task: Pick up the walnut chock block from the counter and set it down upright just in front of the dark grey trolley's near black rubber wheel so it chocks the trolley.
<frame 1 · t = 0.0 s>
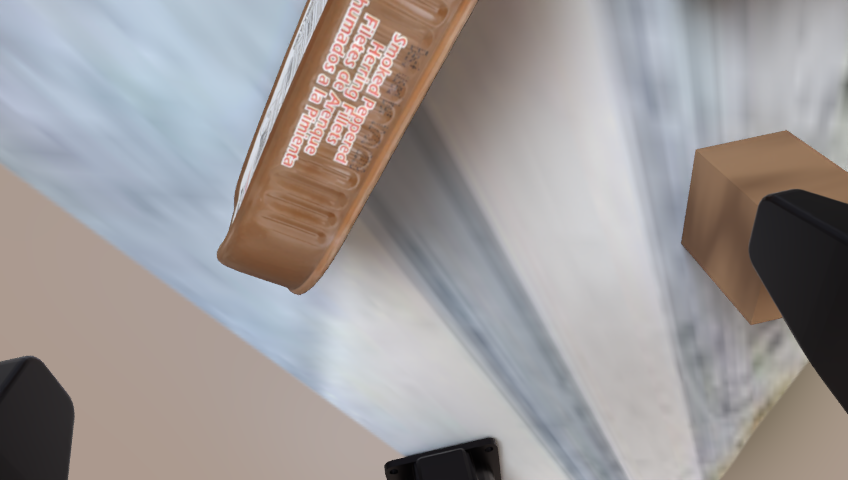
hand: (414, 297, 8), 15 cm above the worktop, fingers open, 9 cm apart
chock: (730, 189, 27), on the worktop
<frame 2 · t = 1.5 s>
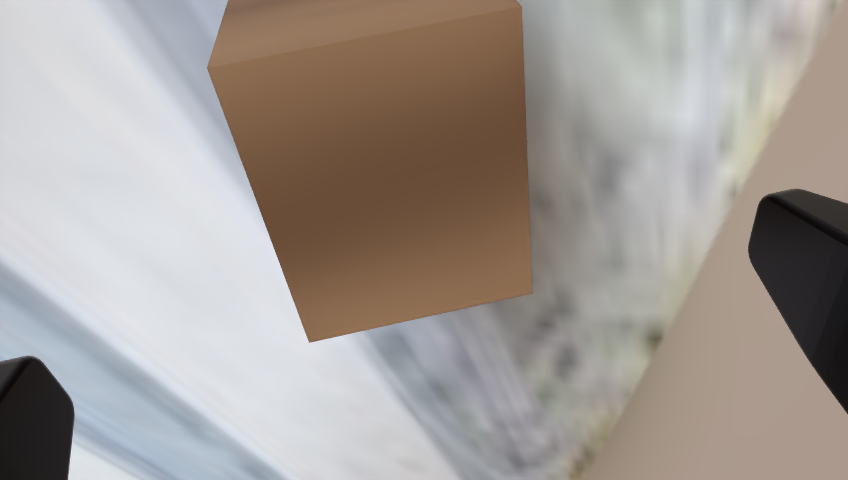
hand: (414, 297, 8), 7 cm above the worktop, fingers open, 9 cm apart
chock: (365, 67, 13), on the worktop
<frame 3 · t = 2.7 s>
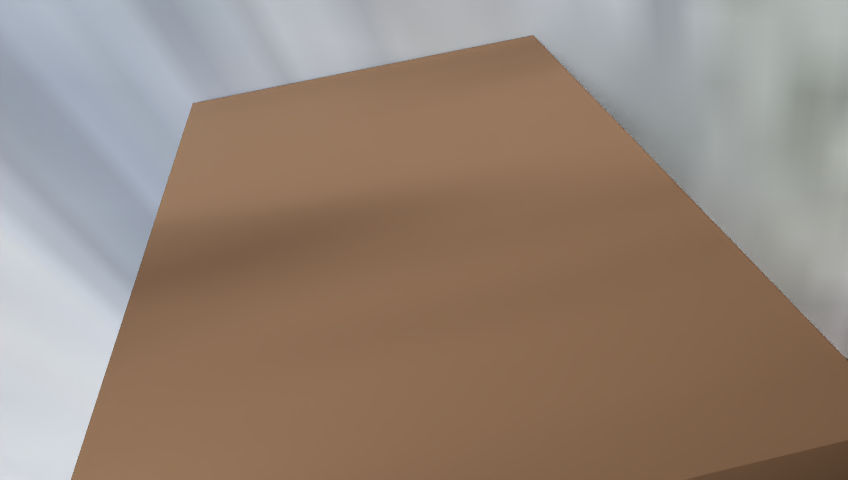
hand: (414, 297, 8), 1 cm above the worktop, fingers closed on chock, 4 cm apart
chock: (400, 238, 9), on the worktop, touching gripper
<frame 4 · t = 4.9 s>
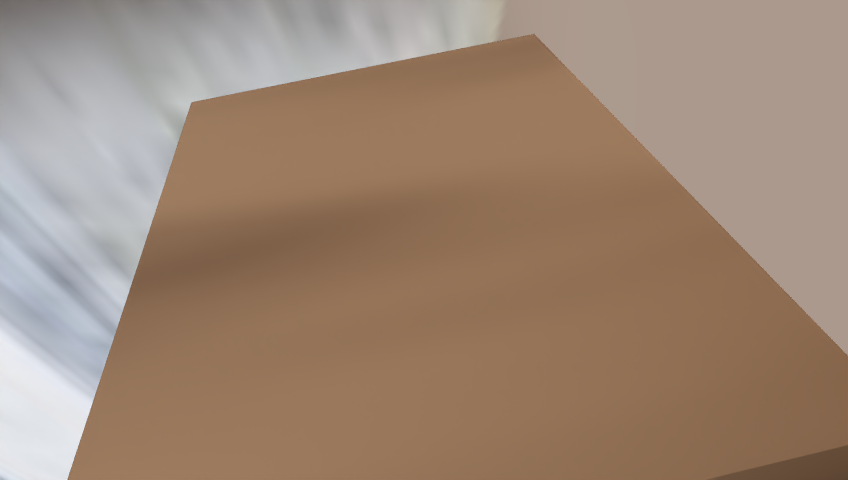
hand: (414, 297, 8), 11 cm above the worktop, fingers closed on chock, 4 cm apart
chock: (400, 238, 8), point 10 cm above the worktop, touching gripper
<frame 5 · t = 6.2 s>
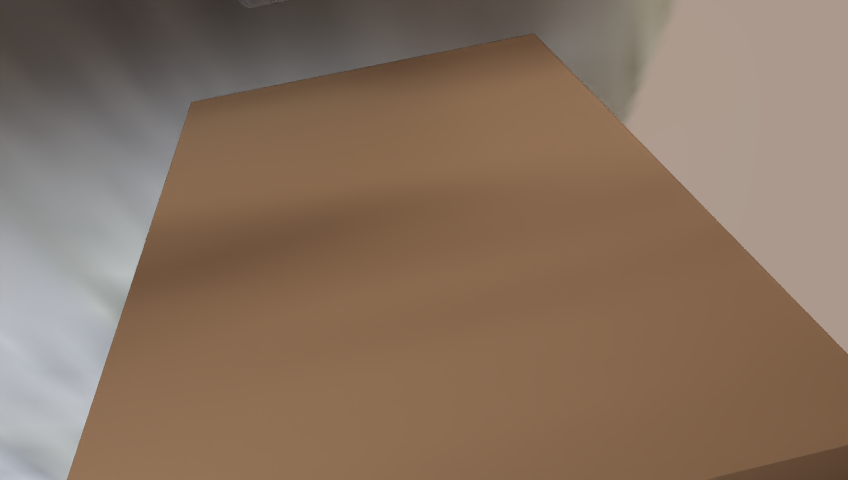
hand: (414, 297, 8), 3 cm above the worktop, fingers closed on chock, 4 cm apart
chock: (400, 238, 8), point 2 cm above the worktop, touching gripper
when the fingers open (2 cm above the worktop, at t = 7.2 s): chock drops 1 cm, on the worktop.
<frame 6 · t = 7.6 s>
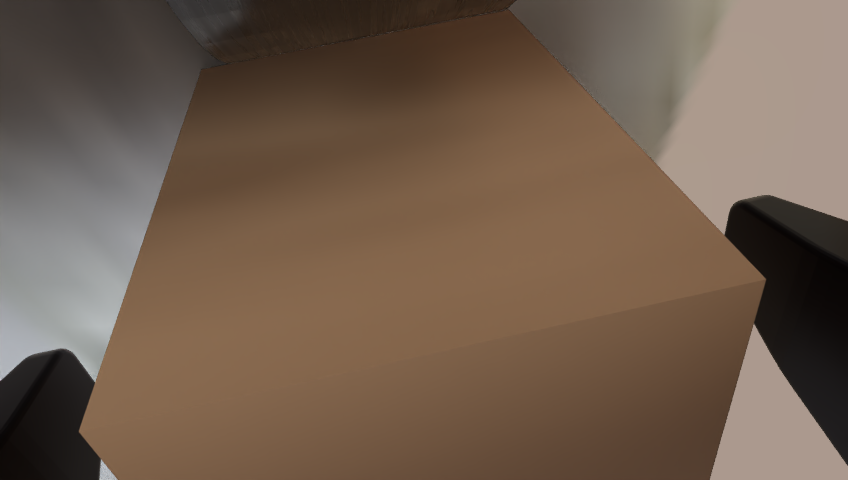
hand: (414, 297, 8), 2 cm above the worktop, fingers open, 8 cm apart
chock: (389, 198, 9), on the worktop
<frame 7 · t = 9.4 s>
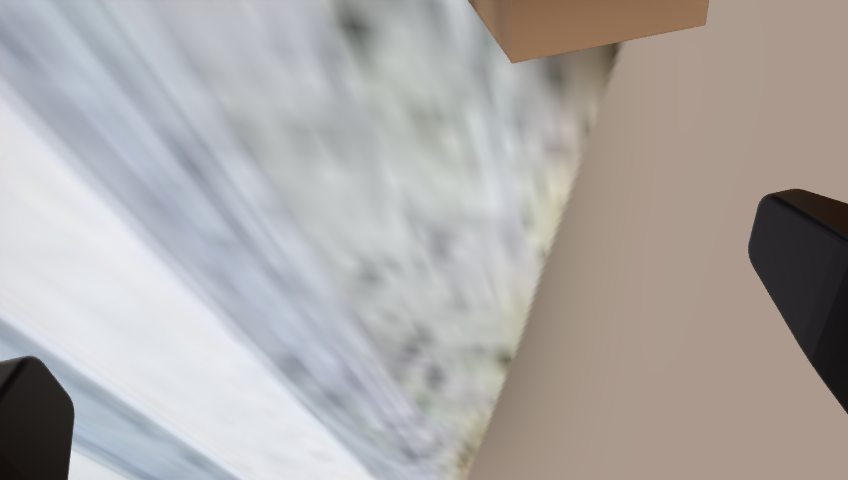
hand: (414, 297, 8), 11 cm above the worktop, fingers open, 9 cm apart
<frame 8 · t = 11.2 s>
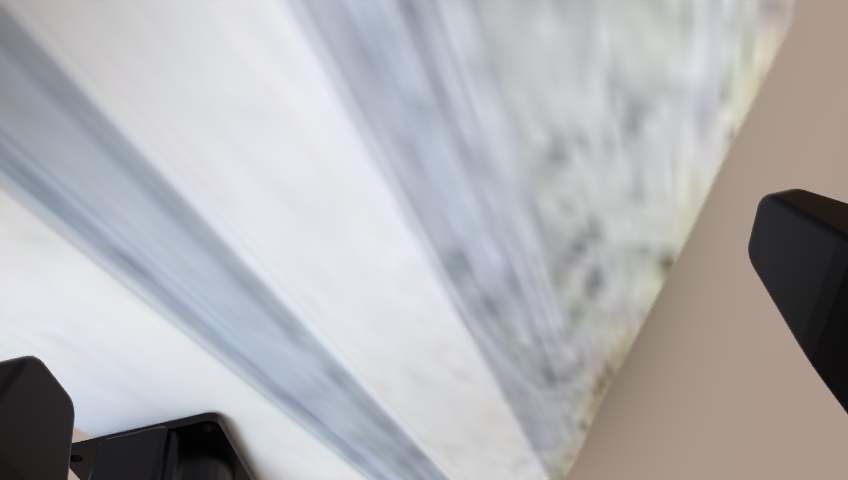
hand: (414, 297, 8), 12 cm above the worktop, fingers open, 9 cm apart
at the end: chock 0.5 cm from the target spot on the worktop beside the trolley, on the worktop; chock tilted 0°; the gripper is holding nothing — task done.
